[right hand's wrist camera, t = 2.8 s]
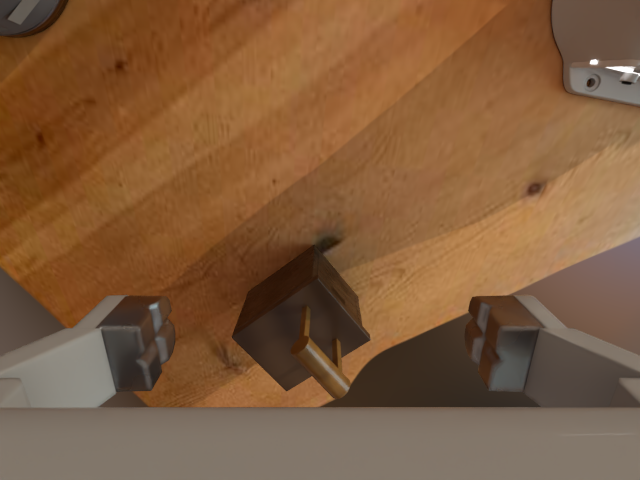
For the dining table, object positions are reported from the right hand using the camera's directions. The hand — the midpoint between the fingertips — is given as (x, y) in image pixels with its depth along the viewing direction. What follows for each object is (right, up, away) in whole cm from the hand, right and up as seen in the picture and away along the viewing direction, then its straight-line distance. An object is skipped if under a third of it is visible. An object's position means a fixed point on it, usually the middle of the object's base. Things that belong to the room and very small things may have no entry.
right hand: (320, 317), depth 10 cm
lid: (-2, -8, +32) cm, 33 cm away
